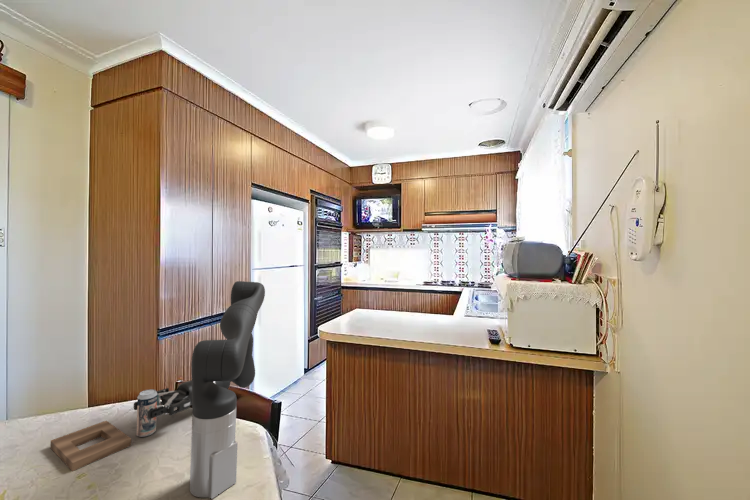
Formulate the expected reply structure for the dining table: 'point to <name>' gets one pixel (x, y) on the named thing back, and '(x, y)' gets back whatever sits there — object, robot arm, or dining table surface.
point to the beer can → (146, 412)
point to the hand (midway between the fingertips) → (141, 410)
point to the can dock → (79, 458)
